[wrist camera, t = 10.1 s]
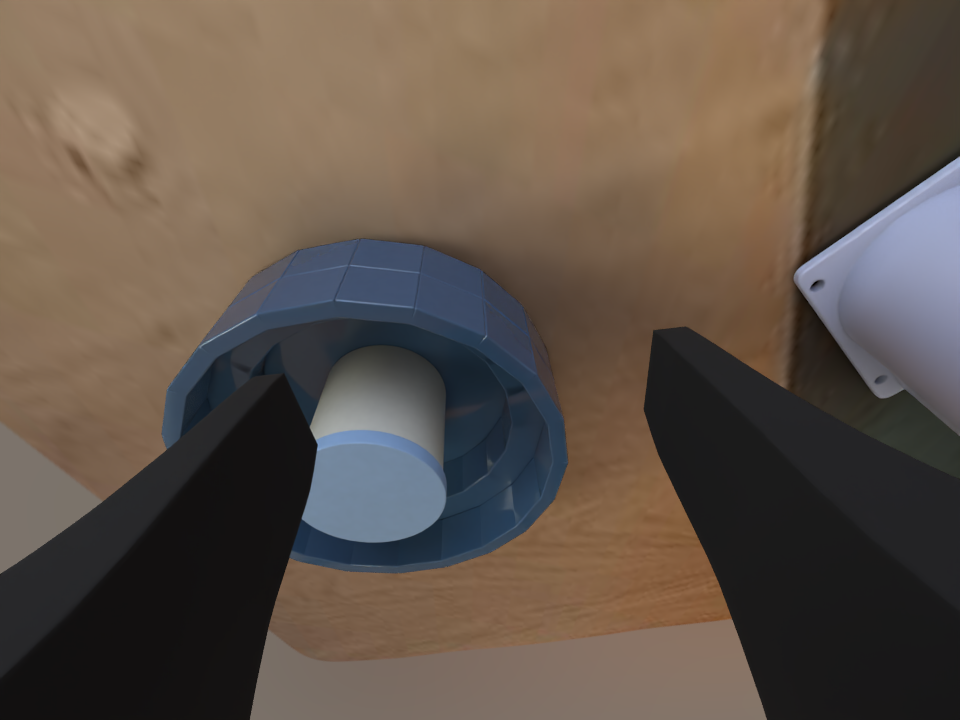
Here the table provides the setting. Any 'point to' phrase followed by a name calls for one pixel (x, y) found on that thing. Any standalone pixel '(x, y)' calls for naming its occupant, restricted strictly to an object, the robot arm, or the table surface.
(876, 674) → the robot arm
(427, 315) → the bowl
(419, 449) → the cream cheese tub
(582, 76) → the table surface
